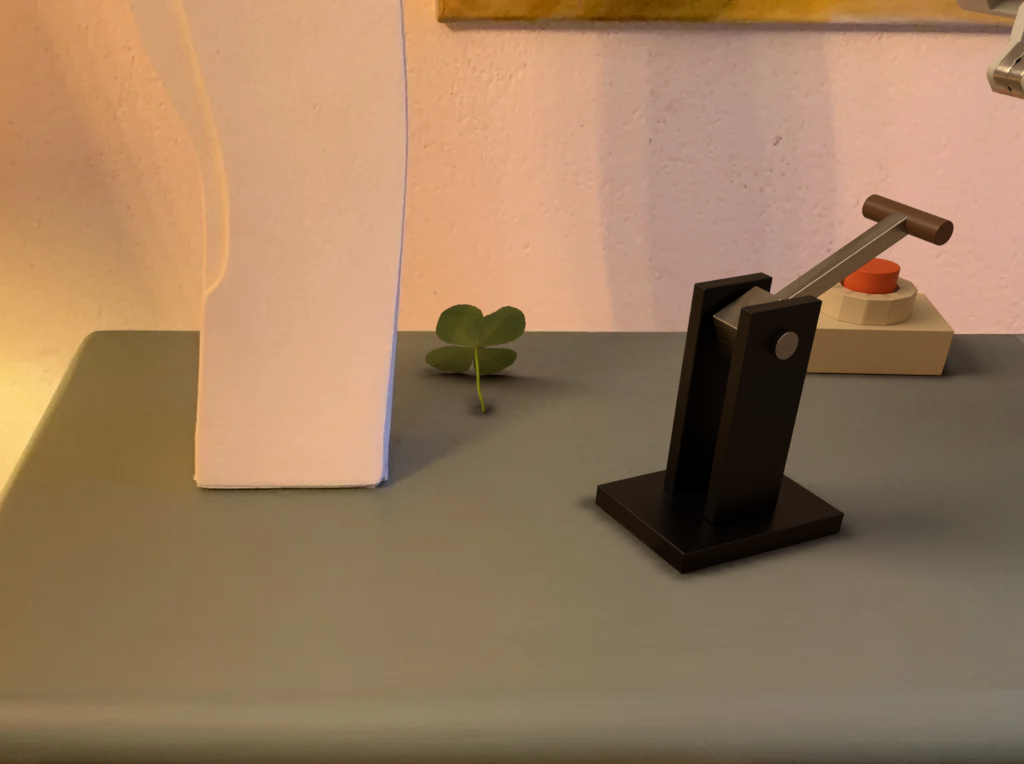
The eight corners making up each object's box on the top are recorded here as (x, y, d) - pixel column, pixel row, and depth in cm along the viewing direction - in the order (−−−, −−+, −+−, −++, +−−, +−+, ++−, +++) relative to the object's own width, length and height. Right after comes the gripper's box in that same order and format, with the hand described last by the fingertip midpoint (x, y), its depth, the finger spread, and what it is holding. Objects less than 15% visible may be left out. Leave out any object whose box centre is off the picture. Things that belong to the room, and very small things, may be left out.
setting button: (887, 282, 85) (893, 257, 84) (899, 299, 83) (906, 273, 81) (838, 281, 85) (843, 256, 84) (849, 298, 83) (855, 272, 82)
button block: (912, 335, 90) (931, 268, 87) (941, 375, 84) (963, 304, 81) (770, 332, 90) (783, 265, 87) (789, 372, 84) (804, 301, 81)
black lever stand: (744, 468, 73) (787, 253, 64) (839, 532, 66) (901, 303, 58) (594, 503, 69) (619, 280, 60) (681, 573, 63) (722, 336, 54)
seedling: (468, 460, 84) (463, 384, 86) (557, 412, 79) (549, 332, 81) (401, 420, 79) (397, 340, 81) (491, 365, 74) (484, 281, 76)
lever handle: (881, 220, 63) (877, 178, 61) (955, 248, 60) (953, 204, 58) (702, 344, 63) (693, 305, 61) (765, 379, 59) (757, 340, 58)
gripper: (1047, -219, 61) (853, 13, 65) (1433, -222, 47) (1159, 74, 51) (1078, -113, 65) (895, 98, 69) (1440, -87, 51) (1187, 177, 55)
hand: (1009, 89), depth 60 cm, fingers closed
